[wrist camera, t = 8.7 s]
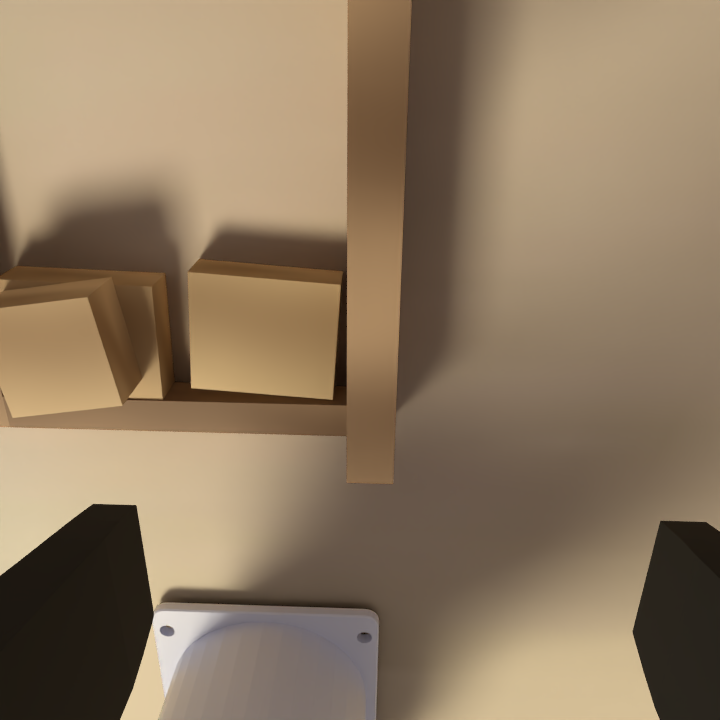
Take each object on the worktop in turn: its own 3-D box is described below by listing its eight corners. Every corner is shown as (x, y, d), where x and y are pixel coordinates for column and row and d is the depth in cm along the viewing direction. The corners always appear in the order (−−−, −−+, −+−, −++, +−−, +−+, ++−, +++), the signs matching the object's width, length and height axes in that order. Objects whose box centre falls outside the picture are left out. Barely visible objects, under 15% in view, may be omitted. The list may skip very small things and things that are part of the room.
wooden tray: (391, 416, 20) (393, 484, 17) (-3, 406, 20) (-74, 471, 17) (417, -321, 13) (429, -443, 10) (-183, -319, 13) (-359, -436, 10)
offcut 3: (336, 375, 20) (332, 399, 19) (204, 363, 20) (191, 388, 19) (343, 267, 19) (340, 284, 17) (202, 255, 19) (187, 272, 17)
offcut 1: (142, 378, 19) (122, 405, 17) (40, 389, 19) (12, 418, 17) (111, 277, 17) (87, 296, 16) (3, 290, 18) (-31, 312, 16)
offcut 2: (178, 375, 20) (162, 399, 19) (42, 368, 20) (16, 392, 19) (169, 268, 19) (151, 286, 17) (23, 262, 19) (-7, 278, 17)
